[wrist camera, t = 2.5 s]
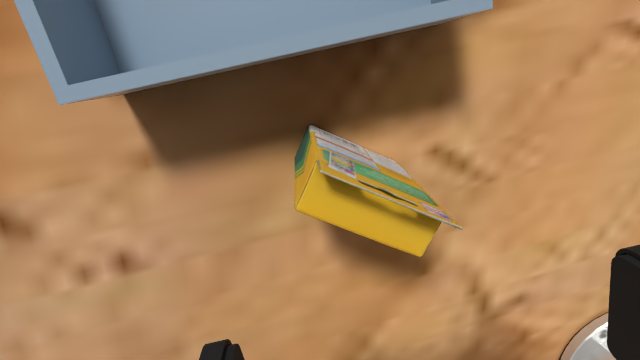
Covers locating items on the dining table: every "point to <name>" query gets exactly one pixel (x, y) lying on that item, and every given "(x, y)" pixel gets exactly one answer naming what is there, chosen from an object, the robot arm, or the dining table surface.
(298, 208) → the crayon box
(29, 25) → the tote
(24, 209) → the dining table surface
